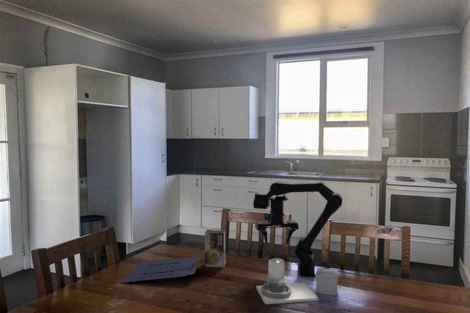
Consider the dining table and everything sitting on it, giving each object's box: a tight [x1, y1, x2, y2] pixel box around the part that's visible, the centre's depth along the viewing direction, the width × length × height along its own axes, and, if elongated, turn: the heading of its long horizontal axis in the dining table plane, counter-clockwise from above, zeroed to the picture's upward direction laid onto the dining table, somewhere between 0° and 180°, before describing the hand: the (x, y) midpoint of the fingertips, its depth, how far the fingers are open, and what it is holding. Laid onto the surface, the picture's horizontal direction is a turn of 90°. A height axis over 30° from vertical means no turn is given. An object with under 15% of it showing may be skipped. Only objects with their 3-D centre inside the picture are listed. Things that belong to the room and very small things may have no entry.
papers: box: [121, 257, 202, 284], centre depth 159 cm, size 24×30×4 cm
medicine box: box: [315, 267, 339, 297], centre depth 140 cm, size 8×4×9 cm, turn 71°
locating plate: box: [255, 282, 319, 305], centre depth 139 cm, size 20×14×2 cm
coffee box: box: [204, 228, 227, 268], centre depth 170 cm, size 9×6×16 cm
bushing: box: [266, 258, 287, 294], centre depth 138 cm, size 8×8×12 cm
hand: (276, 244), depth 162 cm, fingers open, 9 cm apart
